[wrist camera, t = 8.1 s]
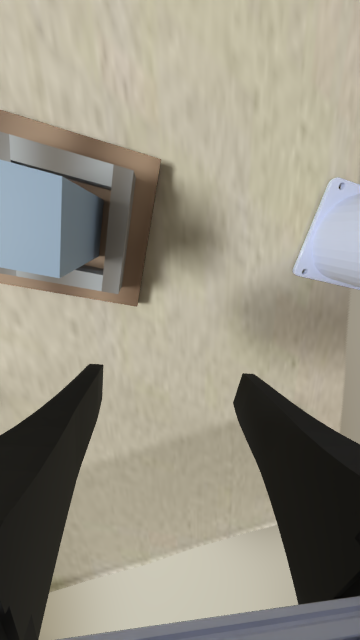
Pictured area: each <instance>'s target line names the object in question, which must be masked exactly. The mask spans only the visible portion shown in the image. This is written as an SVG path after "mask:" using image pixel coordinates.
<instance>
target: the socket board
mask: <svg viewBox="0 0 360 640" xmlns="http://www.w3.org/2000/svg"><path fill="white" fill-rule="evenodd" d="M0 160H4V161H8V162H11V163H15V164H19V165H22V166H26V167H30V168H33V169H37V170H41V171H44V172H48V173H52V174H55V175H59V176H62V177H64V178H66V179H68V180H69V181H71V182H73V183H75V184H77V185H78V186H80V187H82V188H84V189H85V190H87V191H89V192H91V193H92V194H94V195H96V196H98V197H99V198H101V199H103V200H104V204H103V215H102V226H101V238H100V249H99V256H98V257H97V258H95V259H93V260H91V261H90V262H88V263H86V264H84V265H82V266H81V267H79V268H77V269H75V270H74V271H72V272H70V273H68V274H66V275H65V276H63V277H61V278H55V277H50V276H44V275H39V274H33V273H28V272H23V271H17V270H12V269H6V268H1V267H0V283H1V284H7V285H13V286H19V287H25V288H31V289H37V290H43V291H49V292H54V293H60V294H66V295H72V296H78V297H84V298H90V299H96V300H102V301H108V302H113V303H119V304H125V305H131V306H137V305H138V298H139V292H140V286H141V280H142V274H143V268H144V261H145V255H146V249H147V243H148V237H149V231H150V224H151V218H152V212H153V206H154V200H155V194H156V187H157V181H158V175H159V169H160V163H161V159H158V158H155V157H152V156H148V155H145V154H142V153H139V152H135V151H132V150H129V149H126V148H123V147H119V146H116V145H113V144H110V143H106V142H103V141H100V140H97V139H93V138H90V137H87V136H84V135H80V134H77V133H74V132H71V131H67V130H64V129H61V128H58V127H54V126H51V125H48V124H45V123H42V122H38V121H35V120H32V119H29V118H25V117H22V116H19V115H16V114H12V113H9V112H6V111H3V110H0Z"/></svg>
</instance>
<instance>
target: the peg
mask: <svg viewBox="0 0 360 640" xmlns="http://www.w3.org/2000/svg"><path fill="white" fill-rule="evenodd" d="M103 204H104V200H103V199H101V198H99V197H98V196H96V195H94V194H92V193H91V192H89V191H87V190H85V189H84V188H82V187H80V186H78V185H77V184H75V183H73V182H71V181H69V180H68V179H66V178H64V177H62V176H59V175H55V174H52V173H48V172H44V171H41V170H37V169H33V168H30V167H26V166H22V165H19V164H15V163H11V162H8V161H4V160H0V267H1V268H6V269H12V270H17V271H23V272H28V273H33V274H39V275H44V276H50V277H55V278H61V277H63V276H65V275H66V274H68V273H70V272H72V271H74V270H75V269H77V268H79V267H81V266H82V265H84V264H86V263H88V262H90V261H91V260H93V259H95V258H97V257H98V256H99V249H100V238H101V226H102V215H103Z"/></svg>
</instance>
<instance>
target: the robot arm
mask: <svg viewBox="0 0 360 640" xmlns="http://www.w3.org/2000/svg"><path fill="white" fill-rule="evenodd" d="M340 184H341V188H340V189H339V185H340ZM304 269H305V271H304V273H302V271H303V270H304ZM293 273H294V274H295V275H297V276H301V277H305V278H310V279H314V280H318V281H323V282H327V283H331V284H336V285H340V286H344V287H349V288H353V289H357V290H360V185H359V184H356V183H354V182H351V181H348V180H345V179H342V178H339V177H337V178H333V179H332V180H330V182H329V183H328V186H327V188H326V191H325V193H324V195H323V198H322V200H321V203H320V205H319V208H318V210H317V212H316V215H315V217H314V220H313V222H312V224H311V227H310V229H309V232H308V234H307V237H306V239H305V241H304V244H303V246H302V249H301V251H300V254H299V256H298V258H297V261H296V263H295V266H294V268H293ZM102 386H103V365H99V364H89V365H88V366H87V367H86V368H85V369H84V370H83V371H82V372H81V373H80V374H79V375H78V376H77V377H76V378H75V379H74V380H73V381H71V382H70V383H69V384H68V385H67V386H66V387H65V388H64V389H63V390H62V391H60V392H59V393H58V394H57V395H56V396H55V397H53V398H52V399H51V400H50V401H48V402H47V403H46V404H45V405H44V406H42V407H41V408H40V409H38V410H37V411H36V412H35V413H33V414H32V415H30V416H29V417H28V418H26V419H25V420H23V421H22V422H21V423H19V424H18V425H16V426H15V427H13V428H12V429H10V430H8V431H7V432H5V433H4V434H2V435H0V640H38V638H39V634H40V629H41V624H42V620H43V616H44V611H45V607H46V603H47V598H48V594H49V590H50V585H51V581H52V577H53V572H54V568H55V564H56V560H57V556H58V552H59V547H60V543H61V539H62V535H63V531H64V527H65V523H66V519H67V515H68V511H69V507H70V503H71V499H72V495H73V491H74V488H75V484H76V480H77V477H78V473H79V470H80V467H81V464H82V461H83V458H84V456H85V453H86V450H87V447H88V444H89V441H90V439H91V436H92V433H93V430H94V427H95V424H96V421H97V418H98V414H99V410H100V405H101V401H102ZM233 404H234V408H235V412H236V415H237V418H238V421H239V424H240V426H241V428H242V431H243V433H244V435H245V438H246V440H247V442H248V444H249V447H250V449H251V451H252V453H253V456H254V458H255V460H256V462H257V465H258V467H259V470H260V472H261V475H262V477H263V480H264V483H265V486H266V489H267V492H268V495H269V498H270V501H271V504H272V508H273V511H274V514H275V517H276V521H277V524H278V527H279V531H280V534H281V538H282V541H283V545H284V549H285V552H286V556H287V560H288V563H289V568H290V571H291V576H292V579H293V584H294V587H295V591H296V596H297V600H298V605H294V606H287V607H280V608H273V609H266V610H259V611H252V612H245V613H238V614H231V615H224V616H217V617H210V618H204V619H197V620H190V621H183V622H176V623H169V624H162V625H155V626H148V627H141V628H134V629H127V630H120V631H113V632H106V633H99V634H93V635H86V636H78V637H71V638H64V639H57V640H360V444H358V443H356V442H354V441H352V440H351V439H349V438H347V437H345V436H343V435H341V434H340V433H338V432H336V431H334V430H333V429H331V428H329V427H328V426H326V425H325V424H323V423H321V422H320V421H318V420H316V419H315V418H313V417H312V416H310V415H309V414H307V413H306V412H305V411H303V410H302V409H300V408H299V407H297V406H296V405H295V404H293V403H292V402H290V401H289V400H288V399H286V398H285V397H284V396H282V395H281V394H280V393H278V392H277V391H276V390H275V389H273V388H272V387H271V386H269V385H268V384H267V383H265V382H264V381H263V380H261V379H260V378H258V377H257V376H256V375H254V374H244V373H243V374H242V377H241V380H240V383H239V386H238V390H237V393H236V396H235V399H234V402H233Z"/></svg>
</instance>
